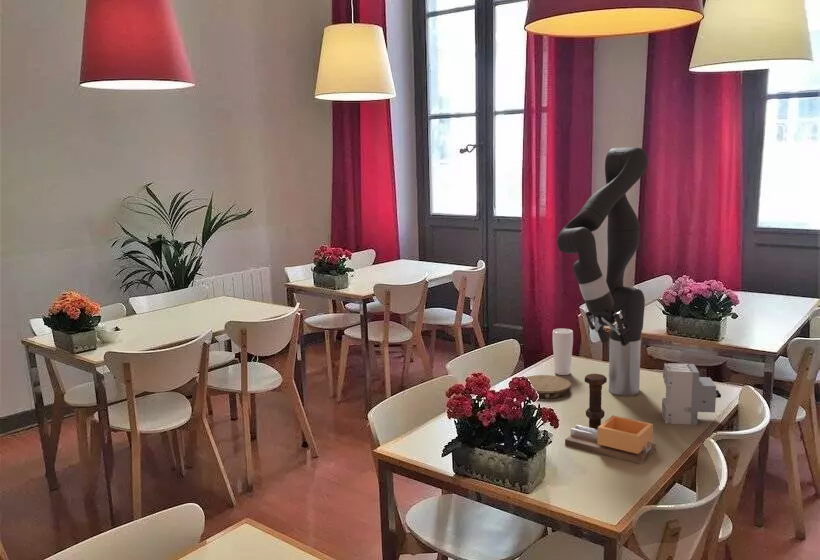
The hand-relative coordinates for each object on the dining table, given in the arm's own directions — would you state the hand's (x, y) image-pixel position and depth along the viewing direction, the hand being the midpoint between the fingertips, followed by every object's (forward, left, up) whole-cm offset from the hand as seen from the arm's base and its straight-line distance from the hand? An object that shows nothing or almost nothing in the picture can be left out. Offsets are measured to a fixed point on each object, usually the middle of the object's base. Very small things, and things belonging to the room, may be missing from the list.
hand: (615, 343), depth 200 cm
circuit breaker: (-4, +20, -20) cm, 29 cm away
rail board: (+26, +9, -20) cm, 34 cm away
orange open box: (+26, +13, -18) cm, 34 cm away
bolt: (+17, +1, -20) cm, 26 cm away
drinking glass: (-22, -28, -20) cm, 41 cm away
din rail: (+26, +9, -18) cm, 33 cm away
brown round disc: (-3, -24, -21) cm, 32 cm away
